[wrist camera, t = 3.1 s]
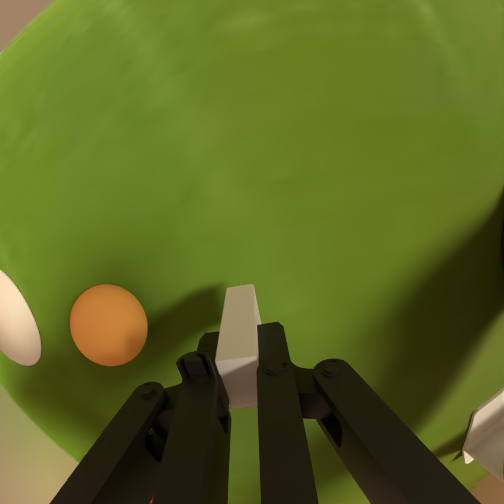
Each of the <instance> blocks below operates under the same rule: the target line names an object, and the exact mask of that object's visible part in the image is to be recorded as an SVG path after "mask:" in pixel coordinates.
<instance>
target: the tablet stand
mask: <svg viewBox="0 0 504 504" xmlns="http://www.w3.org/2000/svg"><path fill="white" fill-rule="evenodd" d="M462 454H463V461H464V462H465V463H466V464H468V463H470V462H471V461H473V460H474V459H475V460H476V461H477V462H478V463H480V464H481V465H482V466H483V467H484V468H486V469H487V470H488V471H489V472H491V473H492V474H493V475H494V476H496V477H497V478H498V479H499V480H501V481H502V482H503V483H504V478H503V463H504V387H503V388H502V389H501V390H500V391H499V392H497V393H496V394H495V395H494V396H492V397H491V398H490V399H489V400H487V401H486V402H485V403H483V404H482V405H481V406H480V407H478V408H477V409H476V410H475V411H474V412H473V415H472V419H471V423H470V426H469V430H468V433H467V437H466V440H465V443H464V446H463V449H462Z"/></svg>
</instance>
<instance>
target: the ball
mask: <svg viewBox="0 0 504 504" xmlns="http://www.w3.org/2000/svg"><path fill="white" fill-rule="evenodd" d="M70 330H71V335H72V338H73V340H74V342H75V344H76V346H77V347H78V349H79V350H80V351H81V352H82V354H83V355H85V356H86V357H87V358H88V359H90V360H91V361H93V362H95V363H98V364H100V365H105V366H118V365H122V364H125V363H127V362H129V361H131V360H132V359H134V358H135V357H136V356H137V355H138V354H139V352H140V351H141V350H142V348H143V346H144V344H145V342H146V338H147V333H148V323H147V318H146V314H145V311H144V309H143V307H142V305H141V304H140V302H139V301H138V300H137V298H136V297H135V296H134V295H133V294H131V293H130V292H129V291H127V290H126V289H124V288H122V287H119V286H116V285H111V284H102V285H96V286H94V287H91V288H89V289H87V290H86V291H85V292H83V293H82V294H81V295H80V296H79V297H78V299H77V300H76V302H75V303H74V305H73V308H72V310H71V315H70Z"/></svg>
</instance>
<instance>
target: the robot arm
mask: <svg viewBox="0 0 504 504" xmlns="http://www.w3.org/2000/svg"><path fill="white" fill-rule="evenodd" d="M502 249H503V266H504V229H503V248H502ZM176 365H177V367H178V369H179V372H180V374H181V376H182V379H183V380H182V383H181V384H178V385H176V386H172V387H169V388H165V389H164V387H163V386H162V385H161V384H160V383H158V382H147V383H144V384H142V385H140V386H138V387H137V388H136V389H135V390H134V392H133V393H132V394H131V396H130V397H129V398H128V400H127V401H126V402H125V404H124V405H123V406H122V408H121V409H120V410H119V411H118V413H117V414H116V415H115V417H114V418H113V419H112V421H111V422H110V423H109V425H108V426H107V427H106V429H105V430H104V431H103V433H102V434H101V435H100V437H99V438H98V439H97V441H96V442H95V443H94V445H93V446H92V447H91V449H90V450H89V451H88V453H87V454H86V455H85V457H84V458H83V459H82V461H81V462H80V463H79V465H78V466H77V467H76V469H75V470H74V471H73V473H72V474H71V475H70V477H69V478H68V479H67V481H66V482H65V484H64V485H63V486H62V488H61V489H60V490H59V492H58V493H57V495H56V496H55V497H54V499H53V500H52V501H51V503H50V504H149V503H150V501H151V499H152V497H153V500H152V504H227V501H228V477H229V455H230V434H231V415H230V412H229V403H230V406H231V409H238V408H248V407H256V406H258V431H259V458H260V486H261V504H318V498H317V493H316V487H315V481H314V476H313V470H312V465H311V460H310V454H309V449H308V444H307V438H306V433H305V428H304V423H303V418H307V419H317V422H318V423H319V425H320V427H321V428H322V430H323V431H324V433H325V435H326V436H327V438H328V439H329V441H330V442H331V444H332V446H333V447H334V449H335V450H336V452H337V453H338V455H339V456H340V458H341V459H342V461H343V463H344V464H345V466H346V467H347V469H348V470H349V472H350V473H351V475H352V476H353V478H354V479H355V481H356V482H357V484H358V485H359V487H360V488H361V490H362V491H363V493H364V494H365V496H366V497H367V499H368V500H369V502H370V503H371V504H481V503H480V502H479V501H478V500H477V499H476V498H474V496H473V495H472V494H471V493H470V492H469V491H468V490H467V489H466V488H465V487H464V486H463V485H462V484H461V483H460V482H459V481H458V480H457V478H456V477H455V476H454V475H453V474H452V473H451V472H450V471H449V470H448V469H447V468H446V467H445V466H444V465H443V464H442V463H441V462H440V461H439V460H438V459H437V458H436V456H435V455H434V454H433V453H432V452H431V451H430V450H429V449H428V448H427V447H426V446H425V445H424V444H423V443H422V442H421V441H420V440H419V439H418V437H417V436H416V435H415V434H414V433H413V432H412V431H411V430H410V429H409V428H408V427H407V426H406V425H405V424H404V423H403V422H402V421H401V420H400V418H399V417H398V416H397V415H396V414H395V413H394V412H393V411H392V410H391V409H390V408H389V407H388V406H387V405H386V404H385V403H384V401H383V400H382V399H381V398H380V397H379V396H378V395H377V394H376V393H375V392H374V391H373V390H372V389H371V388H370V387H369V385H368V384H367V383H366V382H365V381H364V380H363V379H362V378H361V377H360V376H359V375H358V374H357V373H356V372H355V371H354V369H353V368H352V367H351V366H350V365H349V364H348V363H347V362H345V361H344V360H340V359H327V360H323V361H321V362H319V363H318V364H317V365H316V366H315V367H314V369H305V368H300V367H297V366H296V365H294V364H293V363H292V362H291V360H290V356H289V351H288V346H287V342H286V337H285V332H284V327H283V326H282V325H281V324H280V323H279V322H272V323H267V324H261V321H260V316H259V311H258V306H257V300H256V295H255V290H254V285H253V284H248V285H242V286H236V287H230V288H227V291H226V297H225V303H224V309H223V315H222V321H221V327H220V331H218V332H211V333H205V334H204V335H203V336H202V337H201V339H200V340H199V344H198V348H197V351H194V352H189V353H187V354H185V355H183V356H181V357H180V358H179V359H178V360H177V362H176ZM151 428H152V429H151ZM150 430H151V431H150ZM149 431H150V432H149ZM503 478H504V463H503Z"/></svg>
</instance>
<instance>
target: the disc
mask: <svg viewBox="0 0 504 504" xmlns="http://www.w3.org/2000/svg"><path fill="white" fill-rule="evenodd" d="M0 350H1V351H2V352H3V353H4V354H5V355H6V356H8V357H9V358H10V359H12V360H13V361H15V362H17V363H18V364H21V365H25V366H31V365H34V364H36V363H37V361H38V360H39V359H40V356H41V350H42V346H41V338H40V334H39V330H38V327H37V324H36V321H35V319H34V316H33V314H32V312H31V310H30V308H29V306H28V304H27V302H26V300H25V298H24V297H23V295H22V293H21V292H20V291H19V289H18V288H17V286H16V285H15V284H14V282H13V281H12V280H11V279H10V278H9V277H8V275H6V274H5V273H4V272H3V271H2V270H1V269H0Z"/></svg>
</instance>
